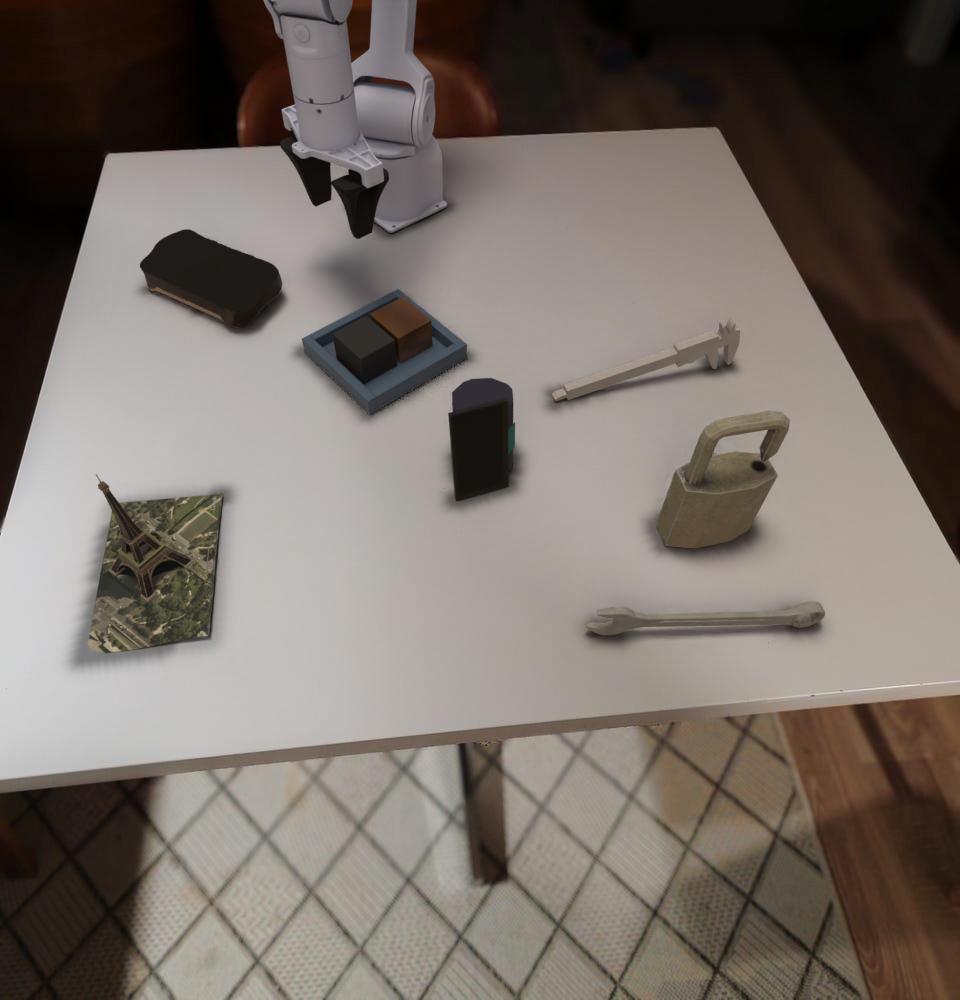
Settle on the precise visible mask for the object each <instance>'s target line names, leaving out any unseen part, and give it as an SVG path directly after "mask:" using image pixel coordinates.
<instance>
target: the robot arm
mask: <svg viewBox="0 0 960 1000" xmlns="http://www.w3.org/2000/svg"><path fill="white" fill-rule="evenodd" d="M262 1H263V3H264V5H265V8H266V9H267V10H268V12H269V13H270V15H271V17H272V20H273V25H274V30H275V34H277V37H278V38H280V39H281V40H283V44H284V51H285V57H286V62H287V68H288V73H289V74H288V75H289V79H290V85H291V90H292V95H293V101H294V104H293V105H290V106H287V107H284V108H282V109H281V115H282V120H283V127H284V128H285V129H286V130H287V131H289V132H291V133H290V134H289V137H286V138H284V139H282V140H280V143H279V146H280V149H281V150H282V151H283V152H284V153H285V155H286V156H287V158H288V159H289V160H290V161H291V163H292V165H293V166H294V168H295V170H296V172H297V173H298V175H299V178H300V180H301V182H302V185H303V187H304V189H305V192H306V193H307V196H308V198H309V201H310V202H311V204H312V205H313V206H314V207H319V206H321V205H323V204H326V203H327V202H328V203H329V202H330V201H331V200H332V195H333V194H332V193H333V189H334V191H336V193H337V195H338V196H339V198H340V200H341V203H342V205H343V207H344V210H345V213H346V217H347V221H348V222H347V223H348V226H349V230H350V232H351V234H352V236H353V237H354V239H356V240H360V239H363V238H364V237H366V236H367V235H370V234H372V233H373V229H374V225H375V224H377V225H378V226H380V227H381V228H382V229H384V231H386V232H387V233H390V234H393V233H396V232H397V231H399V230H402V229H404V228H406V227H408V226H410V225H412V224H414V223H416V222H418V221H420V220H423V219H424V218H426V217H429V216H431V215H433V214H435V213H437V212H439V211H441V210H444V209H445V208H447V207H448V202H447V201H446V200H445V199H444V173H443V171H444V170H443V154H442V151H441V148H440V145H439V143H438V140H437V139H436V137H435V136H434V135H433V134H434V133H433V132H434V129H435V122H436V102H435V89H436V88H435V85H436V83H435V79H434V77H433V75H432V73H431V72H430V71H429V70H428V69H427V68H426V66H425V65H424V64H423V62H421V60H420V59H419V58H418V57H417V56H416V55H415V54H414V43H415V42H414V41H415V30H416V29H415V28H416V16H417V5H418V3H417V2H418V0H371V15H370V17H371V18H370V32H369V33H370V36H369V37H370V38H369V48H368V50H366V51H365V52H364V53H362V55H360V56H359V57H357V58H356V59H355V60H354V61H352V55H351V49H350V47H351V46H350V40H349V30H348V22H347V19H348V17H349V15H350V12H351V10H352V7H353V2H354V0H262ZM375 78H380V79H387V80H394V81H401V82H405V83H407V84H409V85H410V86H404V85H398V84H392V83H391V84H390V83H385V82H378V81H372V79H375ZM331 164H333V165H337V166H339V167H341V168H345V169H348V170H347V171H348V172H347V173H348V174H345V175H342V176H340V177H338V178H335V179H333V180H332V175H331V174H332V173H331V172H332V171H331Z"/></svg>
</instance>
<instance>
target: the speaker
mask: <svg viewBox="0 0 960 1000" xmlns="http://www.w3.org/2000/svg"><path fill="white" fill-rule="evenodd" d="M451 406H452V407H451V409H452V411H450V412H448V413H447V416H448V417H447V418H448V429H449V441H450V455H451V466H452V480H453V493H454V499H455V501H456V502H459V501H462V500H466V499H469V498H472V497H477V496H480V495H484V494H487V493H491V492H495V491H498V490H501V489H502V490H503V489H506V488H508V487H509V485H510V484H509V482H510V481H509V479H510V478H509V477H510V476H509V471H510V470H511V469H512V468H513V466H514V449H515V447H516V422H514V393H513V388H512V387H511V386H510V385H509V384H508V383H507V382H504V381H501V380H498V379H496V378H493V377H483V378H481V377H480V378H470V379H468V380H465V381H463V382H461V383H460V385H458V386H457V387H456V388H455V389H454V390H453V391H452V392H451Z"/></svg>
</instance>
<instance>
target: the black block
mask: <svg viewBox="0 0 960 1000" xmlns="http://www.w3.org/2000/svg"><path fill="white" fill-rule="evenodd" d="M332 335H333V340H334V346H335V352H336V357H337V360H338V361H340V362H341V363H342V364H343V365H344V366H345V367H346V368H347V369H348V370H349V371H350V372H351V373H352V374H354V375H355V376H356V377H357V378H358V379H359V380H360V381H361V382H362V383H363V384H365V383H367V382H369V381H371V380H373V379H374V378H376V377H378V376H380V375H381V374H383V373H385V372H387V371H388V370H390V369H392V368H394V367H396V366H397V357H396V346H395V340H394V339H393V338H392V337H391V336H389V335H388V334H387V333H386V332H385V331H384V330H383V329H381V328H380V327H379V326H378V325H377V324H376V323H374V322H373V321H372V320H371V319H370V318H369V317H367V316H365V317H363V318H361V319H359V320H357V321H355V322H353V323H351V324H350V325H348V326H346V327H344V328H342V329H340V330H338V331H336V332H334V333H333V334H332Z"/></svg>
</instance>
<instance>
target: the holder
mask: <svg viewBox="0 0 960 1000" xmlns="http://www.w3.org/2000/svg"><path fill="white" fill-rule="evenodd" d="M401 297H404V298H405V299H406V300H407V301H409V302H410V303H411V304H412V305H413V306H415V307H416V308H417V309H418V310H420V311H421V312H422V313H423V314H425V315H426V316H427V317H428V318H429V319H431V320H432V344H433V346H431V347H430V348H428V349H426V350H424V351H422V352H421V353H419V354H417V355H415V356H414V357H412V358H410V359H408V360H406V361H405V362H403V363H401V364H400V363H399V362H398V361H397V366H396V367H394V368H392V369H390V370H388V371H387V372H385V373H383V374H381V375H380V376H378V377H376V378H374V379H373V380H371V381H369V382H367V383H365V384H363V383H362V382H361V381H360V380H359V379H358V378H357V377H356V376H355V375H354V374H352V373H351V372H350V371H349V370H348V369H347V368H346V367H345V366H344V365H343V364H342V363H341V362H340V361H338V360H337V357H336V352H335V346H334V340H333V335H332V334H333V333H334V332H336V331H338V330H340V329H342V328H344V327H346V326H348V325H350V324H351V323H353V322H355V321H357V320H359V319H361V318H363V317H365V316H367V317H369V318H370V313H372V312H374V311H376V310H378V309H380V308H382V307H384V306H386V305H388V304H390V303H392V302H394V301H395V300H397V299H399V298H401ZM370 319H371V318H370ZM301 341H302V346H303V352H304V354H305V355H306V356H308V357H309V358H310V359H311V360H312V361H313V362H314V363H315V365H317V366H318V367H319V368H320V369H321V370H322V371H323V372H324V373H325V374H327V375H328V376H329V378H331V379H332V380H333V381H334V382H335V383H336V384H337V385H338V386H339V387H340V388H341V389H342V390H343V391H344V392H346V394H348V396H350V397H351V398H352V400H354V401H355V402H356V403H357V404H358V405H359V406H360V407H361V408H362V409H363V410H364V411H365V412H366V413H367V414H368V415H372V414H374V413H376V412H377V411H379V410H380V409H382V408H384V407H386V406H387V405H390V404H391V403H393V402H394V401H397V400H398V399H400V398H401V397H403V396H405V395H406V394H408V393H410V392H411V391H413V390H415V389H417V388H418V387H421V386H422V385H423V384H425V383H427V382H429V381H430V380H432V379H433V378H435V377H438V376H439V375H440V374H442V373H444V372H446V371H447V370H449V369H451V368H452V367H454V366H456V365H457V364H459V363H461V362H463V361H465V360H466V359H467V358H468V344H467V343H466V342H465V341H463V340H462V339H461V338H460V337H459V336H457V335H456V334H455V333H454V332H452V331H451V330H450V329H449V328H447V327H446V326H445V325H444V324H442V323H441V322H440V321H439V320H438V319H436V318H435V317H434V316H433V315H432V314H430V313H429V312H428V311H427V310H426V309H424V308H423V307H422V306H421V305H419V304H418V303H417V302H415V301H414V300H413V299H411V298H410V297H409V296H408V295H407V294H405V293H404V292H403V291H402V290H400V289H399V288H398V289H396V290H395V289H394V291H391V292H390V293H387V294H386V295H383V296H382V297H380V298H378V299H376V300H374V301H372V302H370V303H368V304H366V305H364V306H362V307H360V308H358V309H357V310H355V311H353V312H350V313H349V314H347V315H345V316H343V317H341V318H339V319H337V320H335V321H333V322H331V323H329V324H327V325H325V326H323V327H321V328H319V329H318V330H315V331H314V332H311V333H310V334H308V335H306V336H304V337H302V338H301Z"/></svg>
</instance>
